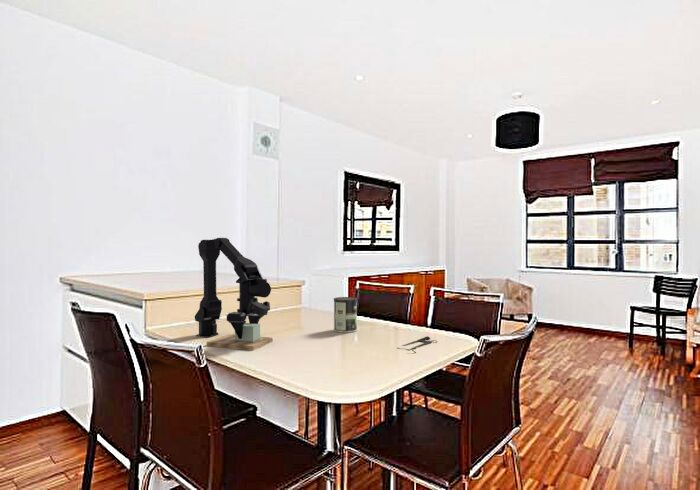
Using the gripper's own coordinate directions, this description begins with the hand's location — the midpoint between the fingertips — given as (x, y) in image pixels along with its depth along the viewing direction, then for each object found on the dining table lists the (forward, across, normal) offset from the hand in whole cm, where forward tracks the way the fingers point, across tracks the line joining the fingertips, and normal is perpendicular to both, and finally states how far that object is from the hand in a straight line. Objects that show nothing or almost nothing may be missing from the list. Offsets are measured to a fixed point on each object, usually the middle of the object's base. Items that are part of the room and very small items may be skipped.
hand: (247, 336), depth 163 cm
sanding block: (+2, 0, 0) cm, 2 cm away
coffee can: (+3, +36, -27) cm, 45 cm away
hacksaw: (+4, +19, -62) cm, 66 cm away
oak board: (+3, 0, +3) cm, 4 cm away
